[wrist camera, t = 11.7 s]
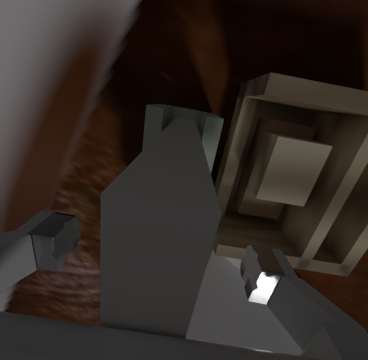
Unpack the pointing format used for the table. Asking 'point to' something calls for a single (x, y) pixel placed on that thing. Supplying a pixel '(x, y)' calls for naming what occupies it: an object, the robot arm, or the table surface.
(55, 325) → the robot arm
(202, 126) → the holder
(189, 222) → the grey upright block
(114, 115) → the table surface
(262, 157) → the offcut short
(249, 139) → the rack
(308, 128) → the block
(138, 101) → the table surface
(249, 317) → the tablet stand
